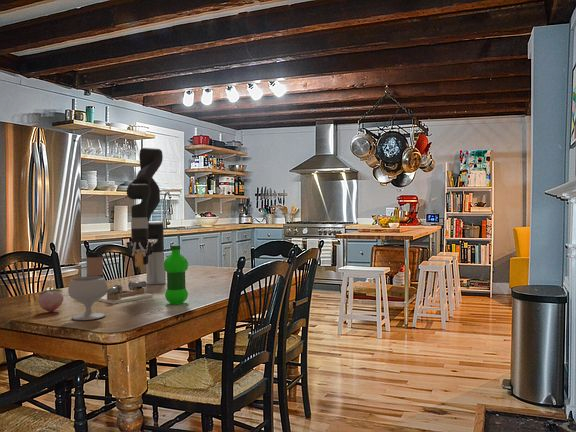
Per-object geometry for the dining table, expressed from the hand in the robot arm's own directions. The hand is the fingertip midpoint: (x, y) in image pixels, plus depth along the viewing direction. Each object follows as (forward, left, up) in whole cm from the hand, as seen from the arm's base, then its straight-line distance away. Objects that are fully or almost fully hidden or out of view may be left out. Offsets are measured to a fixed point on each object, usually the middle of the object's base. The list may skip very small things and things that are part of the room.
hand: (140, 264), depth 240 cm
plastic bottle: (-1, +26, -16) cm, 30 cm away
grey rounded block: (+13, 0, -14) cm, 20 cm away
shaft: (-2, -5, -14) cm, 15 cm away
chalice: (+37, +22, -16) cm, 46 cm away
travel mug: (+5, -31, -16) cm, 35 cm away
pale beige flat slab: (+6, -5, -15) cm, 18 cm away
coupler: (0, 0, -1) cm, 1 cm away
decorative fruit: (+41, -1, -16) cm, 44 cm away
